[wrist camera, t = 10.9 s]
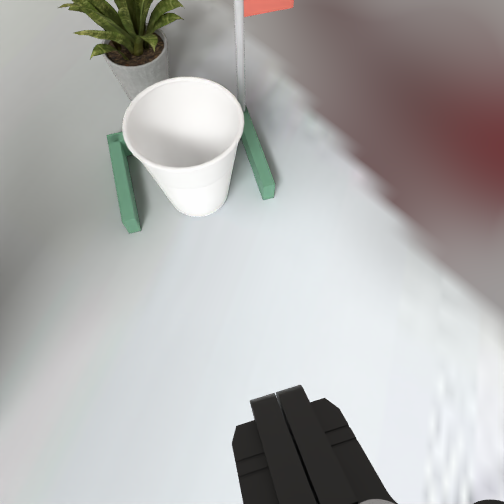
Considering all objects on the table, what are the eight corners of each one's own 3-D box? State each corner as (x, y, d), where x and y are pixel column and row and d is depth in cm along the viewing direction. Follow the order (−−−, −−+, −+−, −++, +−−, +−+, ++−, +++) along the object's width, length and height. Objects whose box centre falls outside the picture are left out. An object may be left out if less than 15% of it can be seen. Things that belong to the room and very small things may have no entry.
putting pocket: (129, 233, 40) (55, 116, 25) (114, 150, 44) (43, 7, 29) (311, 188, 42) (344, 55, 27) (280, 113, 47) (293, -38, 31)
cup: (203, 140, 45) (190, 58, 35) (265, 194, 42) (269, 121, 32) (133, 192, 42) (97, 118, 32) (193, 253, 39) (174, 194, 29)
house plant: (192, 32, 52) (169, -126, 37) (231, 105, 47) (221, -44, 32) (86, 62, 50) (15, -94, 35) (114, 142, 45) (45, 0, 30)
